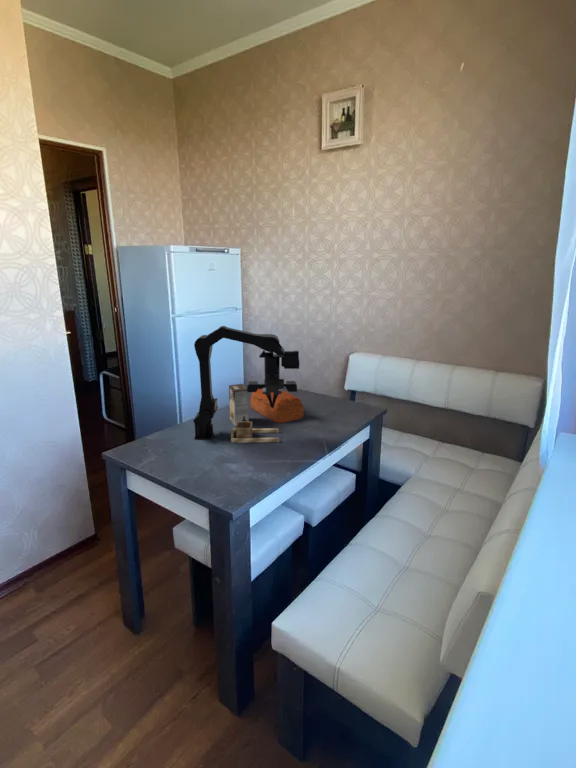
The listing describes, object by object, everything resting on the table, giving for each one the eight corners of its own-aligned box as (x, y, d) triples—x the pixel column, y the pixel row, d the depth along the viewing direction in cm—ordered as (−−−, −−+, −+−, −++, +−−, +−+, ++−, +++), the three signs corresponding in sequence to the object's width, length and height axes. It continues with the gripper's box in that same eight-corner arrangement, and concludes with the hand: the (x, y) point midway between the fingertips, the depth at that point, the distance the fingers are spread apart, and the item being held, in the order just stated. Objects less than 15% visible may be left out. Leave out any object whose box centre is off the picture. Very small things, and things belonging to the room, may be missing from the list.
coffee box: (229, 420, 184) (228, 384, 179) (243, 418, 186) (242, 383, 181) (234, 427, 176) (233, 390, 171) (249, 425, 178) (248, 389, 173)
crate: (236, 440, 161) (235, 428, 159) (237, 433, 168) (236, 421, 166) (251, 440, 161) (251, 428, 160) (252, 433, 168) (252, 421, 166)
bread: (276, 402, 207) (276, 382, 204) (306, 419, 186) (307, 396, 183) (247, 408, 200) (247, 386, 197) (276, 426, 178) (276, 402, 175)
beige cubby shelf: (230, 445, 159) (229, 438, 158) (232, 432, 170) (232, 426, 169) (283, 444, 160) (283, 437, 159) (282, 432, 171) (282, 425, 170)
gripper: (246, 374, 151) (247, 415, 155) (298, 373, 152) (297, 414, 156) (247, 366, 162) (248, 405, 166) (296, 366, 163) (295, 404, 167)
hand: (272, 407), depth 164 cm, fingers closed
